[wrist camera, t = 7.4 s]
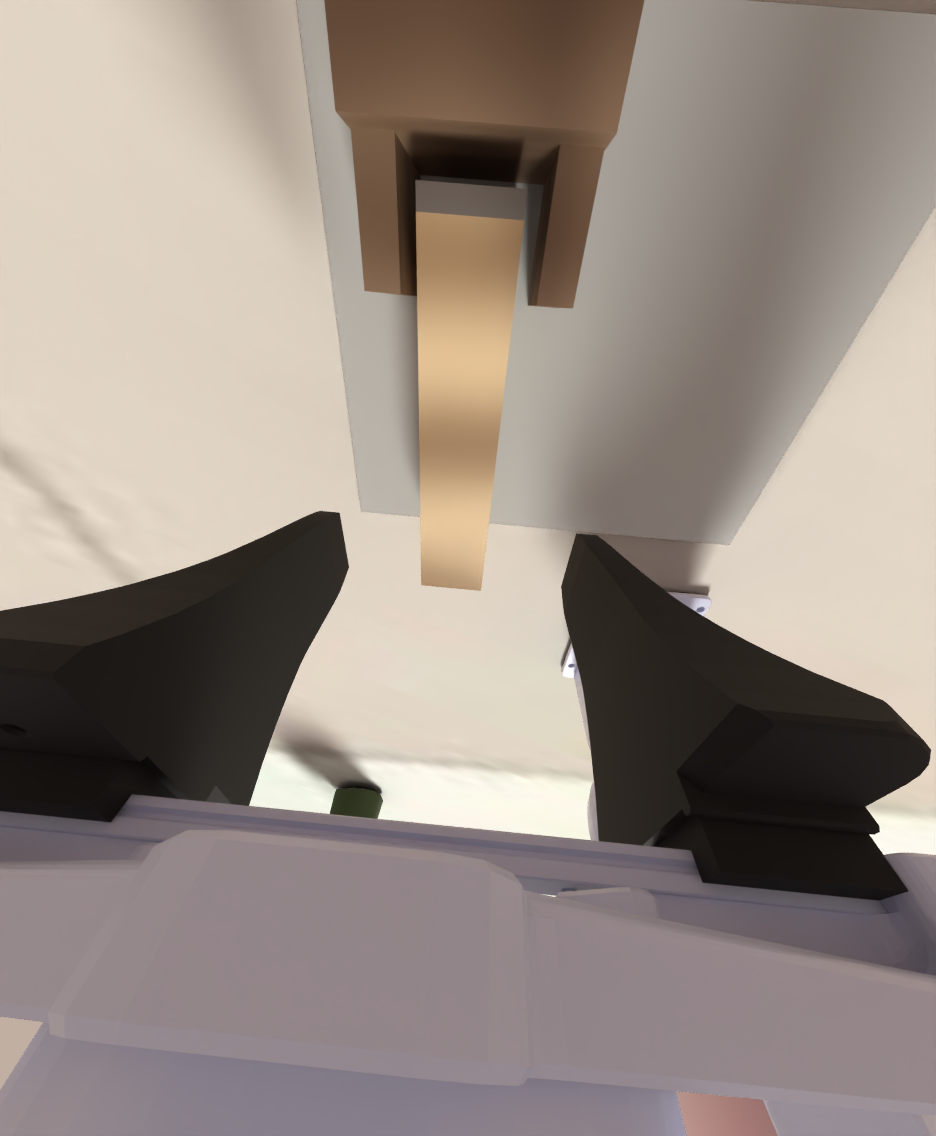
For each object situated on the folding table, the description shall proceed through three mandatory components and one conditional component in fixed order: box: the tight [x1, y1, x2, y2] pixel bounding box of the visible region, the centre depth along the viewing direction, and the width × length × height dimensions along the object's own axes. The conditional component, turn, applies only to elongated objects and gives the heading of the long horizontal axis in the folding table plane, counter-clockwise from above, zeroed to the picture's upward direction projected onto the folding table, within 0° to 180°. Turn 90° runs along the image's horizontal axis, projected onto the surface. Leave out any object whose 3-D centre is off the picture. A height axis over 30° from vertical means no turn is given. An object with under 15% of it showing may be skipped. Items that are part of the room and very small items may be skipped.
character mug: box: [330, 786, 383, 819], centre depth 41 cm, size 11×7×13 cm, turn 29°
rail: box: [415, 180, 528, 591], centre depth 16 cm, size 14×3×5 cm, turn 176°
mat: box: [296, 0, 936, 545], centre depth 16 cm, size 18×22×1 cm
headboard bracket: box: [324, 0, 645, 309], centre depth 11 cm, size 6×7×5 cm
